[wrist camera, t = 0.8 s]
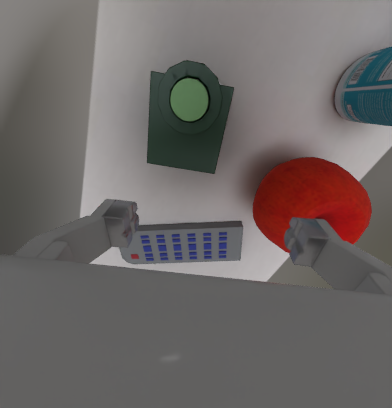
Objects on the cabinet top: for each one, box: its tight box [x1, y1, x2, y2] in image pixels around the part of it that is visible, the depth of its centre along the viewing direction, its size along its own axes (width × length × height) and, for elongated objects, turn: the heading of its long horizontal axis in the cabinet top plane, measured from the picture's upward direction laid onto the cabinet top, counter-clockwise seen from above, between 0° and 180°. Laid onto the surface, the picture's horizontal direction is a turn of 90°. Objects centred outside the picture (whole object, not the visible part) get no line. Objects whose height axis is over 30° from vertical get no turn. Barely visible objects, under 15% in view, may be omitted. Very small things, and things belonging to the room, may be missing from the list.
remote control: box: [119, 221, 243, 264], centre depth 35 cm, size 8×23×2 cm, turn 93°
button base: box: [147, 60, 234, 174], centre depth 23 cm, size 11×9×6 cm
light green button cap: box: [170, 78, 208, 121], centre depth 19 cm, size 4×4×2 cm
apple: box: [253, 157, 372, 253], centre depth 24 cm, size 12×12×13 cm
